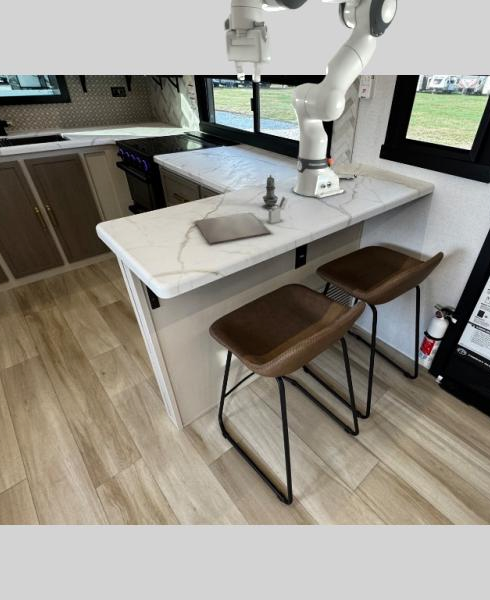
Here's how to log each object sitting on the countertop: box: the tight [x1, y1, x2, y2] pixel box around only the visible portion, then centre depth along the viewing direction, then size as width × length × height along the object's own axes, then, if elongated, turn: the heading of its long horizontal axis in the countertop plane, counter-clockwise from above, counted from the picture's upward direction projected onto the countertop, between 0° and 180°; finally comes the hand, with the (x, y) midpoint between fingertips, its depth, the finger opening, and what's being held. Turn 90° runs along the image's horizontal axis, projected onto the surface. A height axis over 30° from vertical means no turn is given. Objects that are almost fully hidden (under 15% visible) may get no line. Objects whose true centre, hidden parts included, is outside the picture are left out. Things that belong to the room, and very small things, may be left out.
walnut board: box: [194, 212, 271, 246], centre depth 105 cm, size 20×18×1 cm
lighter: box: [268, 196, 289, 224], centre depth 109 cm, size 7×2×8 cm, turn 126°
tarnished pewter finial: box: [262, 174, 279, 210], centre depth 118 cm, size 6×6×12 cm
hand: (248, 80), depth 99 cm, fingers open, 8 cm apart
